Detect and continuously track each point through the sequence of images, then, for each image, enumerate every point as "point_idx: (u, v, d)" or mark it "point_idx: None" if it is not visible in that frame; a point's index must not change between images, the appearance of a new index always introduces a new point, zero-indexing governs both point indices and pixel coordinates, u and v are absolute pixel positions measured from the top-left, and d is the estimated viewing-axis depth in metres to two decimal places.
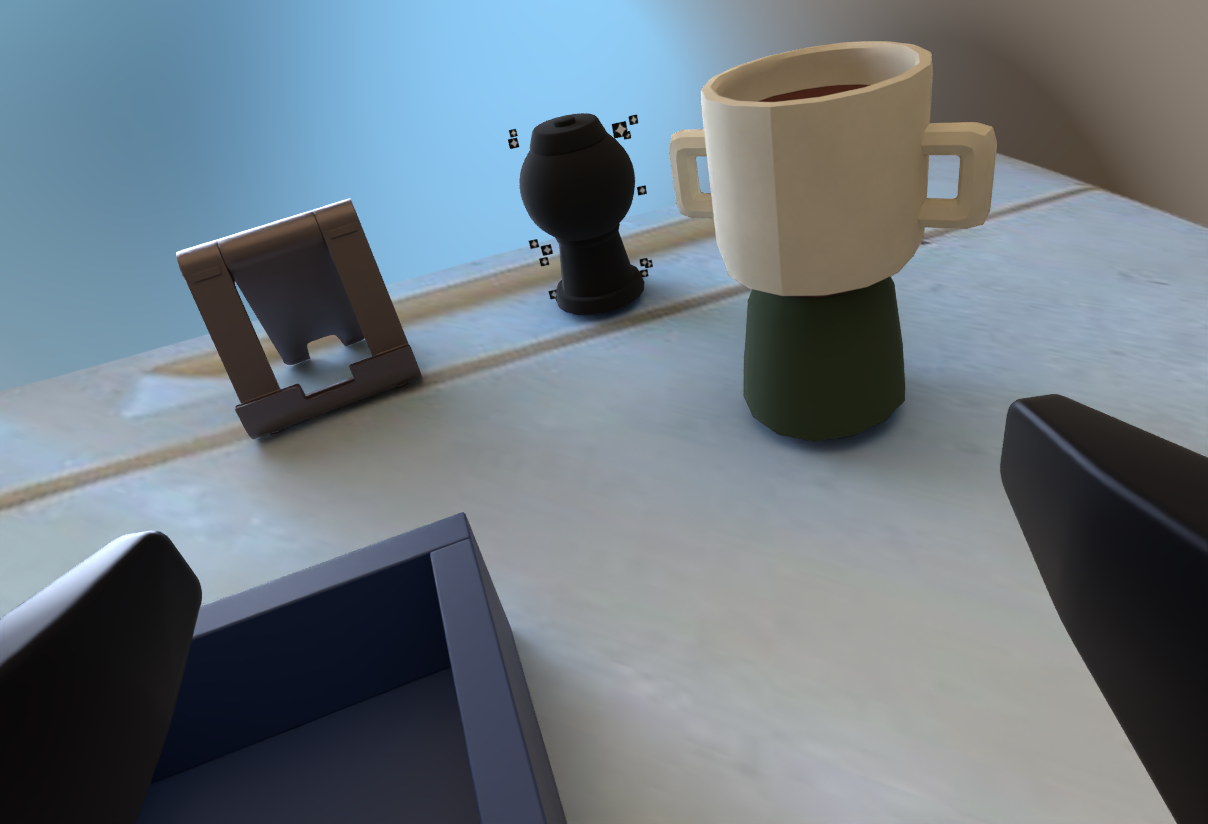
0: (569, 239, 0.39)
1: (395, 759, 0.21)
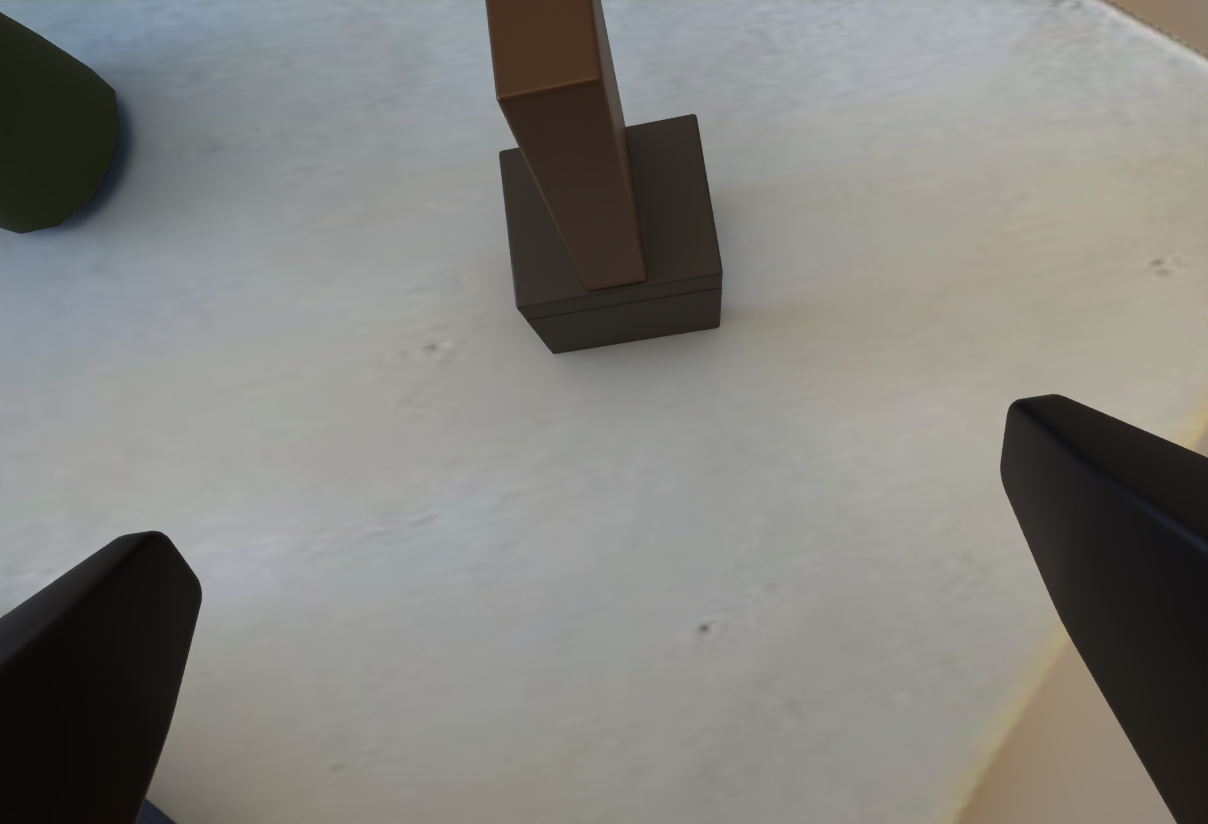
0: None
1: None
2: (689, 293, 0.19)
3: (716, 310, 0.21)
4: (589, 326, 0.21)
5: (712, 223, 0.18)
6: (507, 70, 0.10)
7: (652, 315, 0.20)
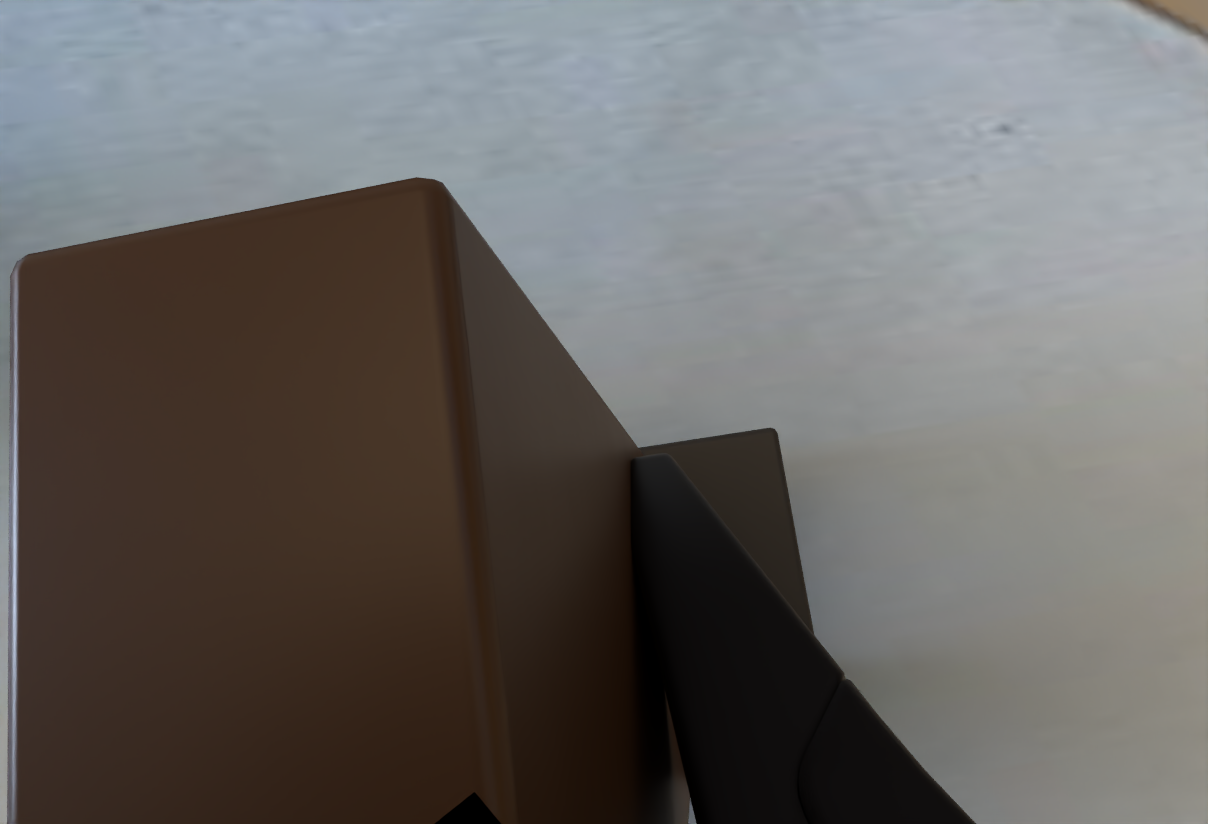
0: None
1: None
2: None
3: None
4: None
5: None
6: None
7: None
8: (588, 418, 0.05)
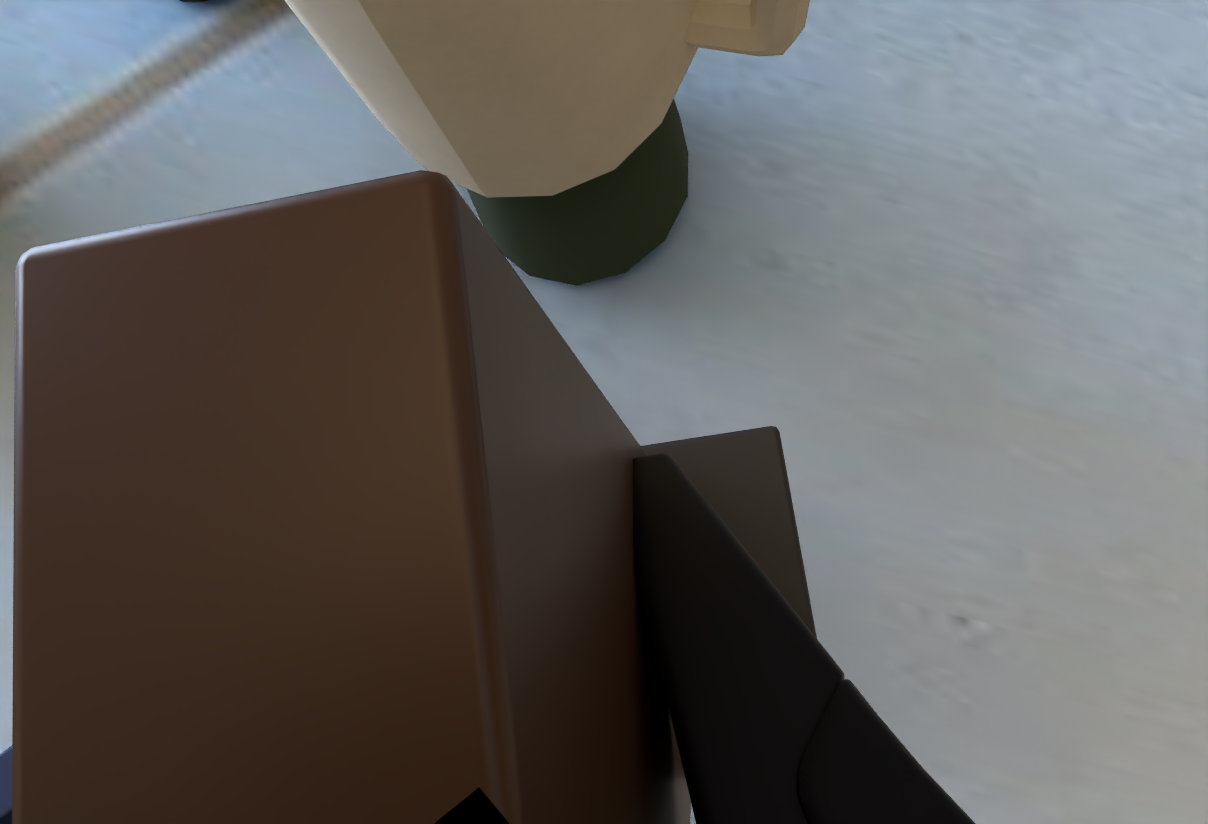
0: None
1: None
2: None
3: None
4: None
5: None
6: None
7: None
8: (590, 415, 0.05)
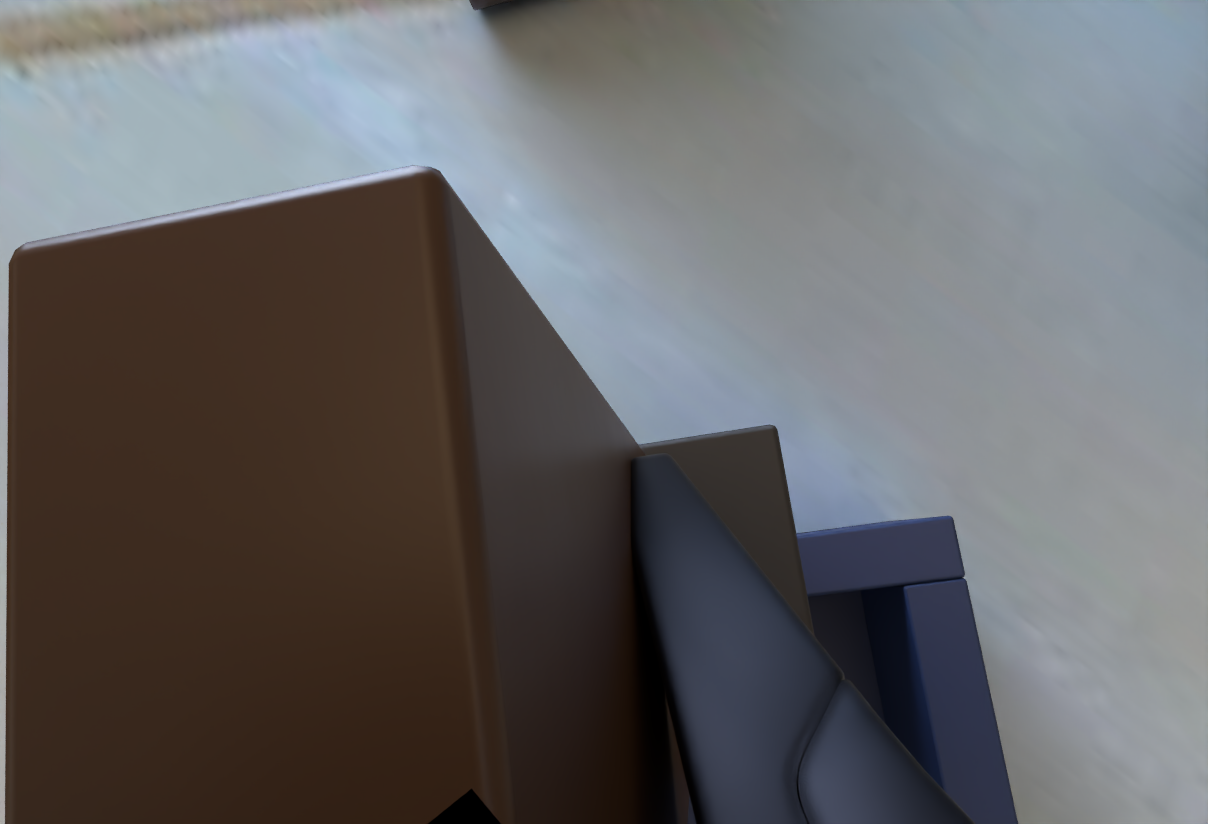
0: None
1: None
2: None
3: None
4: None
5: None
6: None
7: None
8: (586, 412, 0.05)
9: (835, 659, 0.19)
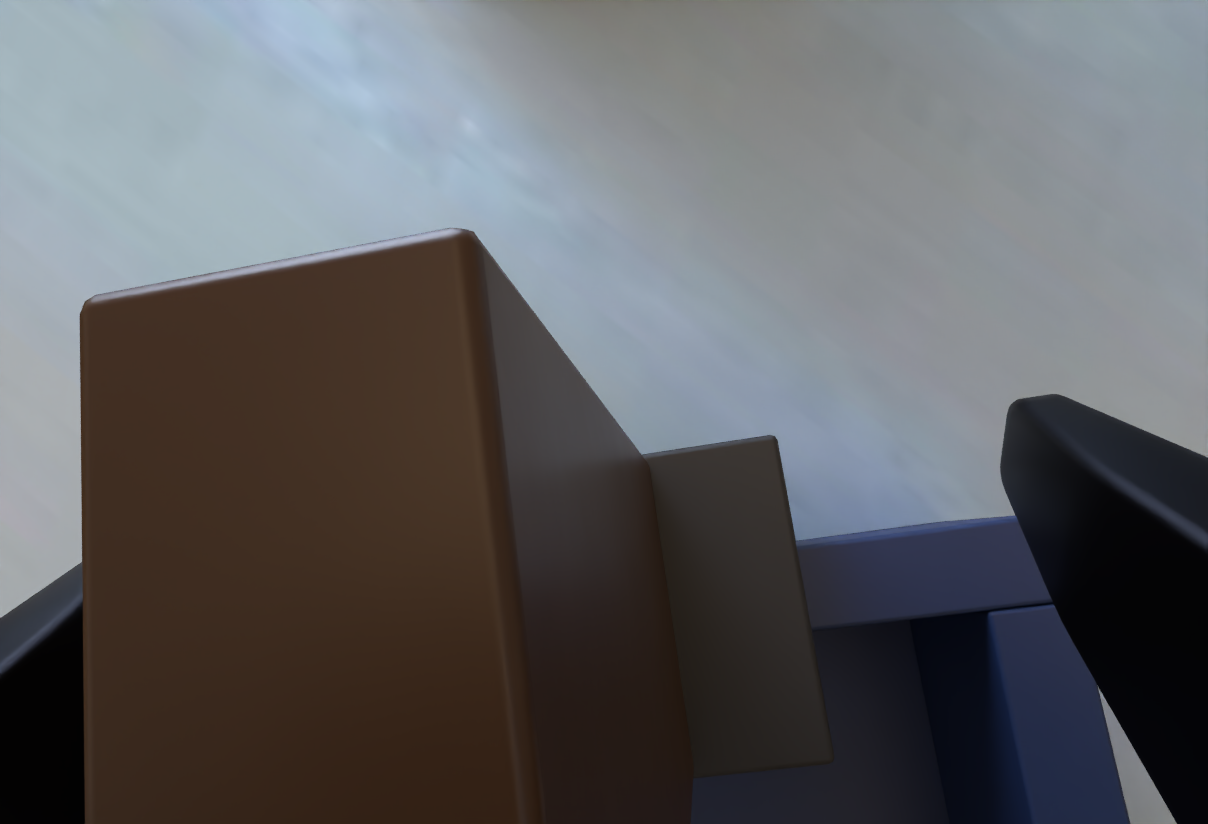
0: None
1: None
2: None
3: None
4: None
5: (812, 658, 0.10)
6: None
7: None
8: (597, 433, 0.05)
9: (875, 700, 0.15)
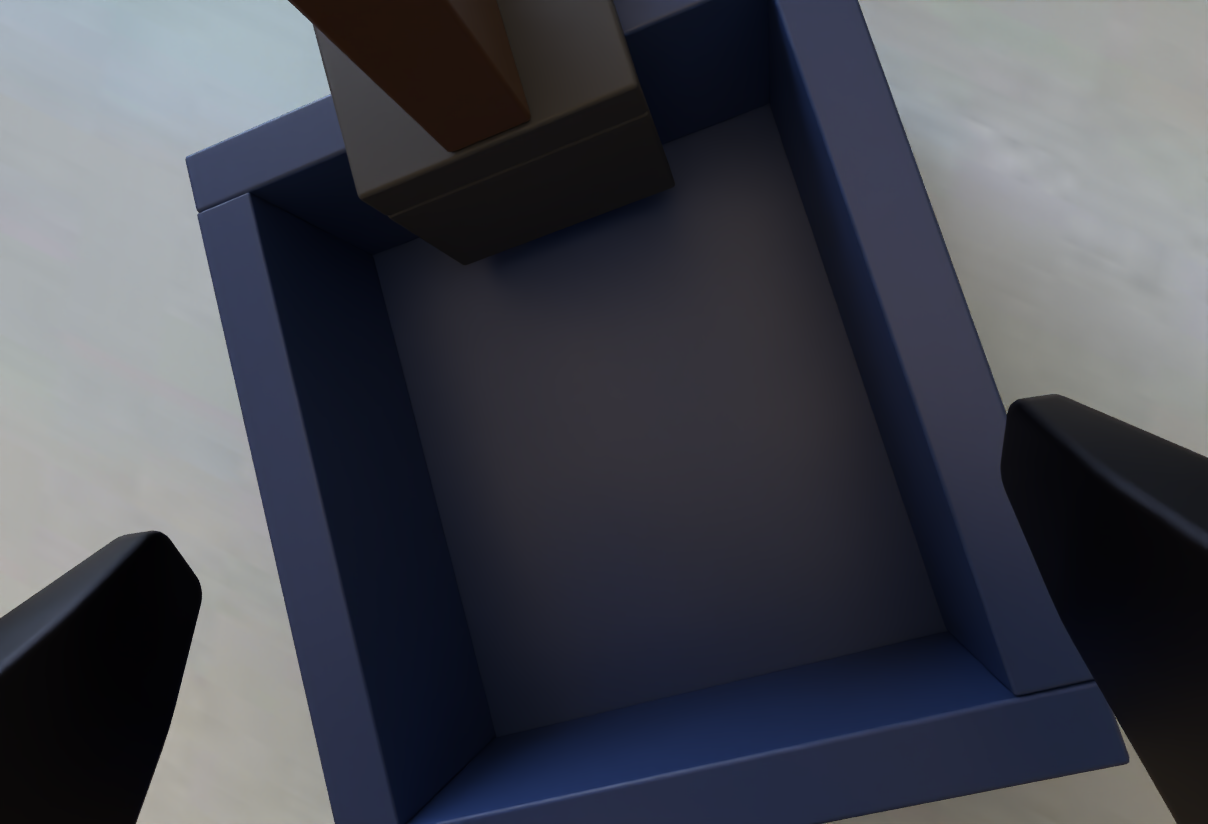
0: None
1: (681, 244, 0.17)
2: (604, 132, 0.13)
3: (658, 158, 0.15)
4: (487, 214, 0.15)
5: (612, 13, 0.12)
6: None
7: (568, 181, 0.14)
8: None
9: (756, 200, 0.17)
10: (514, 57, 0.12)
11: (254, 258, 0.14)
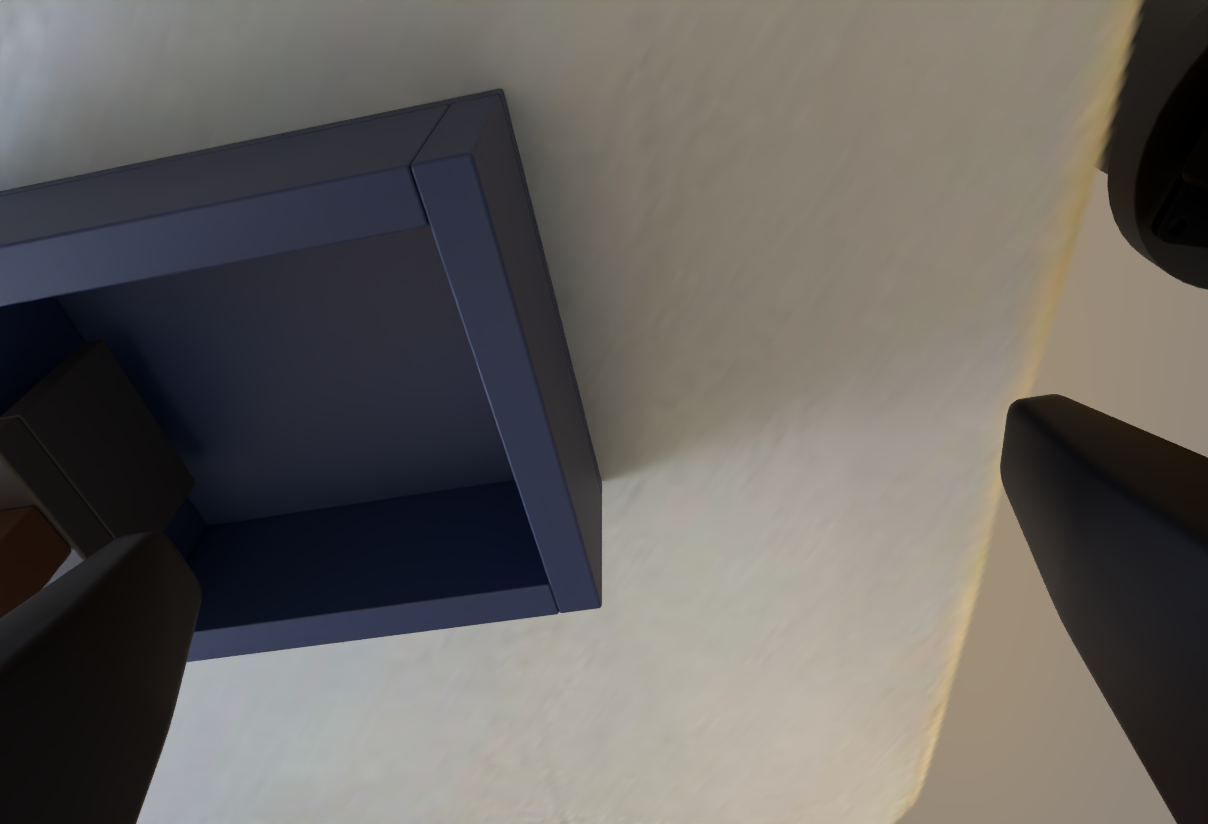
0: None
1: (160, 321, 0.21)
2: (41, 443, 0.17)
3: (68, 376, 0.19)
4: (135, 493, 0.20)
5: None
6: None
7: (97, 444, 0.19)
8: None
9: None
10: None
11: None
